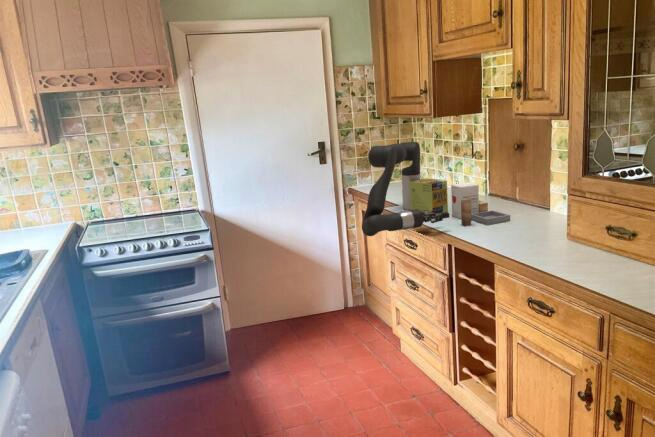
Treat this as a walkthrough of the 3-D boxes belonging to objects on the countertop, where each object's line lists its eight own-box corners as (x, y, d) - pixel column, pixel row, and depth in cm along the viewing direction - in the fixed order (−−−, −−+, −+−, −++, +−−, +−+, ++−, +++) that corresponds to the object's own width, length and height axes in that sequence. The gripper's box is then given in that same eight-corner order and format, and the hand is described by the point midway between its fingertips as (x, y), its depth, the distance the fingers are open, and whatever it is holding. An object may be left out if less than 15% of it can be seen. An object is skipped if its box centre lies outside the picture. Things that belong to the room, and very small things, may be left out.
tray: (470, 219, 230) (469, 214, 229) (492, 215, 234) (492, 210, 233) (486, 225, 219) (486, 219, 218) (510, 220, 223) (510, 215, 222)
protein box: (432, 216, 242) (431, 183, 239) (410, 212, 255) (408, 180, 251) (448, 212, 248) (447, 180, 244) (425, 208, 260) (424, 177, 257)
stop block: (467, 213, 243) (467, 200, 241) (474, 211, 244) (474, 199, 242) (480, 217, 233) (480, 204, 232) (487, 215, 235) (487, 202, 233)
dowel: (459, 224, 224) (459, 199, 221) (467, 223, 225) (467, 198, 223) (465, 226, 220) (464, 201, 218) (473, 224, 221) (472, 199, 219)
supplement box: (451, 216, 240) (450, 184, 236) (468, 213, 242) (467, 181, 239) (462, 219, 231) (461, 186, 228) (479, 216, 234) (479, 184, 230)
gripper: (417, 213, 205) (454, 207, 210) (400, 207, 218) (435, 202, 224) (418, 232, 207) (454, 225, 212) (401, 224, 220) (436, 218, 225)
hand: (444, 213), depth 218 cm, fingers open, 5 cm apart
